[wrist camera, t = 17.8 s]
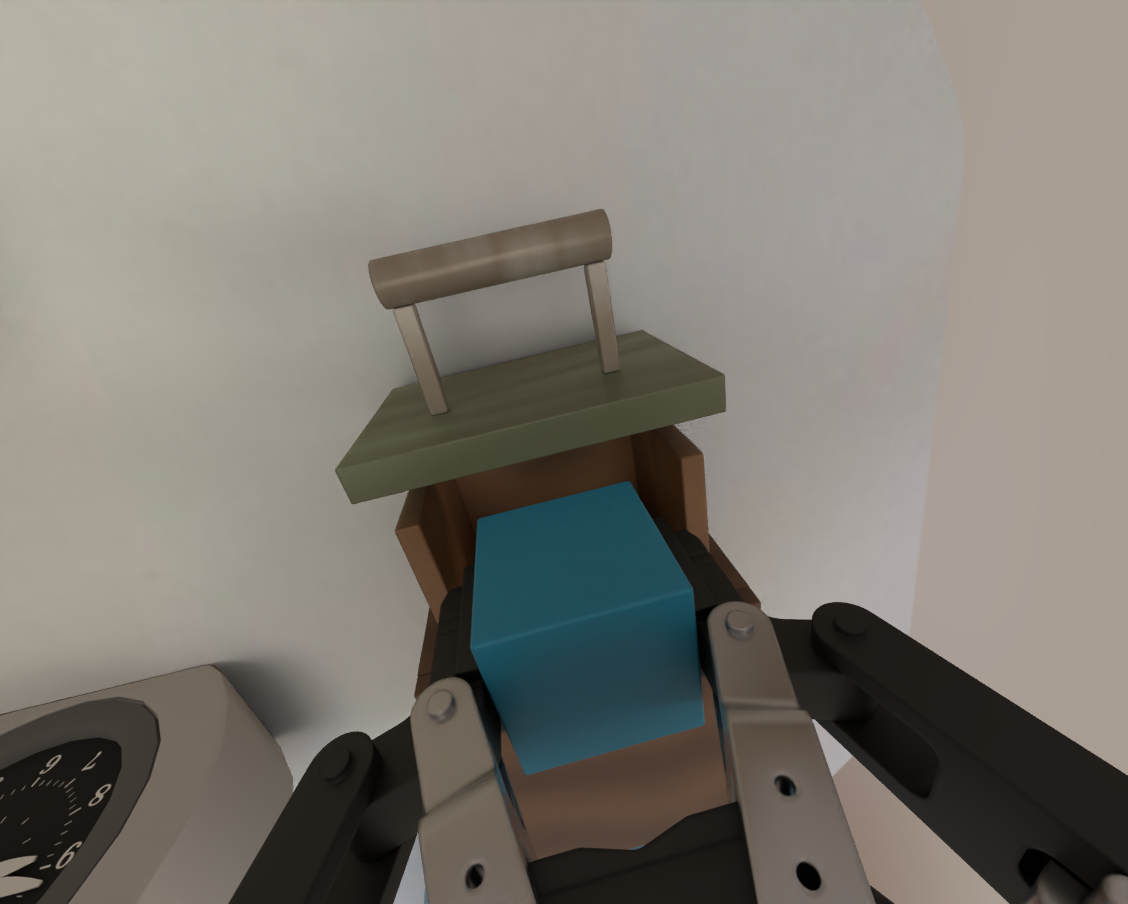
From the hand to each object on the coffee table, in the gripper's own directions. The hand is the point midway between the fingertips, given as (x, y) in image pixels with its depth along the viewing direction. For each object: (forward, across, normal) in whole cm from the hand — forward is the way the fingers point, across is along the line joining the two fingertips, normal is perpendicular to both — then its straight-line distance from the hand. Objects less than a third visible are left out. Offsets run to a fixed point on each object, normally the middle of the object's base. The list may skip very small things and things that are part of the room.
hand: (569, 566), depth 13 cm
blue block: (0, 0, 0) cm, 0 cm away
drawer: (+9, 0, 0) cm, 9 cm away
